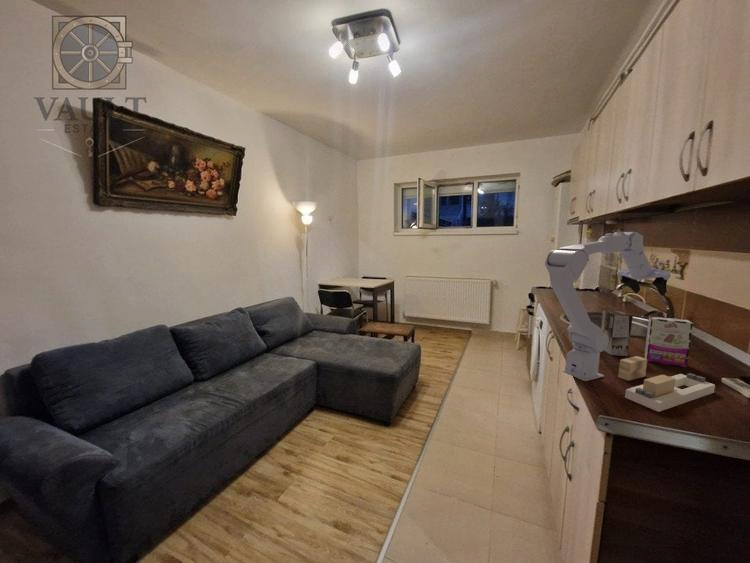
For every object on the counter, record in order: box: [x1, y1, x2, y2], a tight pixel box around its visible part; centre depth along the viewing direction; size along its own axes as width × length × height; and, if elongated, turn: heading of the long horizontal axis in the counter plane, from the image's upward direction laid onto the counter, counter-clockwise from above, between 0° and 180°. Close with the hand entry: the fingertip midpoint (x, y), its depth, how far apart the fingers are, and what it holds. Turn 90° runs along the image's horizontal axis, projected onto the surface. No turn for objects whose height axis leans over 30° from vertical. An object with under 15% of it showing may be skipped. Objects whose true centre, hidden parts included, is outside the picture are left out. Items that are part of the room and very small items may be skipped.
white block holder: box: [624, 372, 716, 413], centre depth 91 cm, size 28×8×6 cm, turn 112°
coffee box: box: [600, 309, 634, 357], centre depth 125 cm, size 9×6×16 cm
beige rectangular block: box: [617, 355, 648, 382], centre depth 103 cm, size 9×3×6 cm, turn 112°
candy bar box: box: [644, 316, 694, 368], centre depth 114 cm, size 11×5×16 cm, turn 58°
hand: (650, 292), depth 109 cm, fingers open, 7 cm apart
